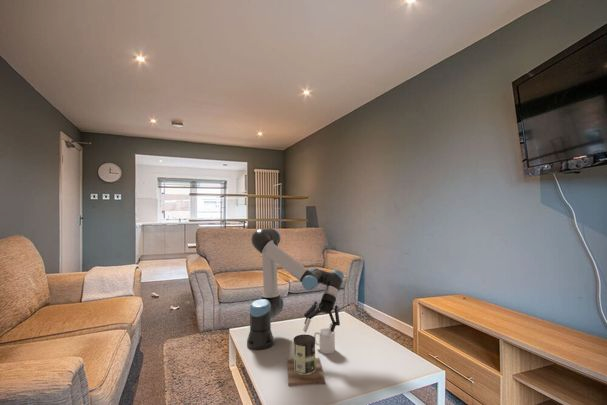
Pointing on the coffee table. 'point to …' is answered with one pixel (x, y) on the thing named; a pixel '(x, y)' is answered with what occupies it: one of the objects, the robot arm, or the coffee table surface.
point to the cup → (325, 341)
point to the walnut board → (305, 379)
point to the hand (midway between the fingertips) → (316, 334)
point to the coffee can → (304, 354)
